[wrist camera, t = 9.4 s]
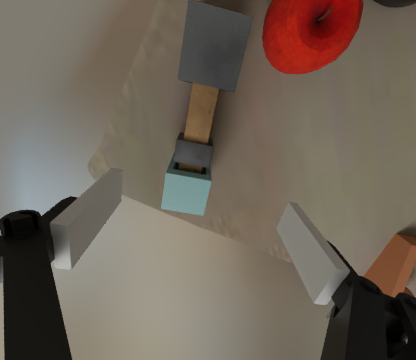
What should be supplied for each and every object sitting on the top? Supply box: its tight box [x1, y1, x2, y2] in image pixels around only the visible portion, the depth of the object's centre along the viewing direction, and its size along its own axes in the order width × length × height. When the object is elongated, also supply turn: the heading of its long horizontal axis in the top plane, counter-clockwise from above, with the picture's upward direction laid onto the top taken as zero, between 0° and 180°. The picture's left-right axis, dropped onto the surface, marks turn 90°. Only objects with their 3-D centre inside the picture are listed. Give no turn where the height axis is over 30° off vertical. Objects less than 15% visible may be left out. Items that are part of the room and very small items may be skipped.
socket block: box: [161, 153, 212, 215], centre depth 32 cm, size 6×6×11 cm
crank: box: [364, 233, 416, 298], centre depth 47 cm, size 20×8×8 cm, turn 167°
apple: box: [262, 0, 363, 74], centre depth 24 cm, size 10×10×12 cm
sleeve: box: [178, 0, 253, 92], centre depth 26 cm, size 7×6×10 cm
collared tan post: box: [174, 83, 219, 174], centre depth 28 cm, size 16×5×5 cm, turn 168°
